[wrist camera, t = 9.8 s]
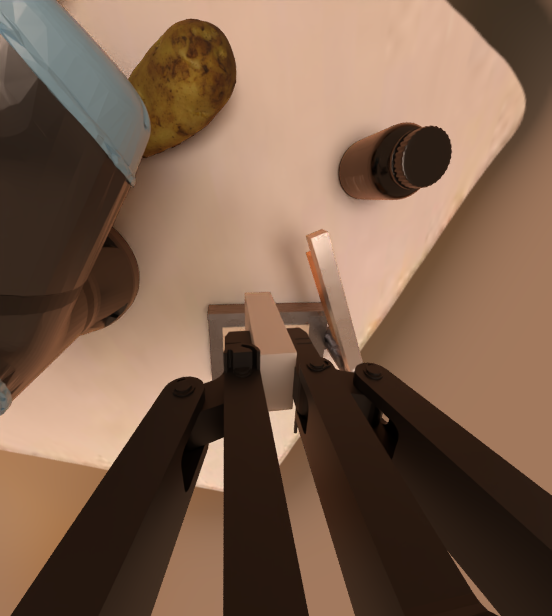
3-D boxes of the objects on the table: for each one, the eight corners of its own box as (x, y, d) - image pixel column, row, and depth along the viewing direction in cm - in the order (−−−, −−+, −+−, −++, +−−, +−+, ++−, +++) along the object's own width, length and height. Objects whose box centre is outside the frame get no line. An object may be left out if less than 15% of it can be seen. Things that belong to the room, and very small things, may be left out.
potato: (97, 72, 26) (47, 27, 19) (223, 42, 27) (221, -13, 20) (135, 165, 30) (106, 156, 23) (246, 136, 31) (252, 118, 23)
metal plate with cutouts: (213, 375, 42) (212, 388, 39) (209, 304, 38) (207, 314, 35) (316, 368, 45) (322, 380, 42) (324, 302, 40) (332, 310, 38)
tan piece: (292, 229, 29) (310, 239, 23) (308, 223, 29) (330, 231, 23) (332, 352, 37) (354, 386, 30) (344, 347, 37) (369, 380, 30)
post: (314, 347, 43) (352, 415, 30) (316, 327, 42) (357, 389, 29) (335, 346, 44) (381, 412, 31) (338, 326, 43) (388, 386, 29)
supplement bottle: (388, 193, 36) (458, 194, 25) (339, 203, 35) (389, 208, 24) (388, 133, 33) (467, 104, 22) (335, 143, 32) (389, 119, 21)
